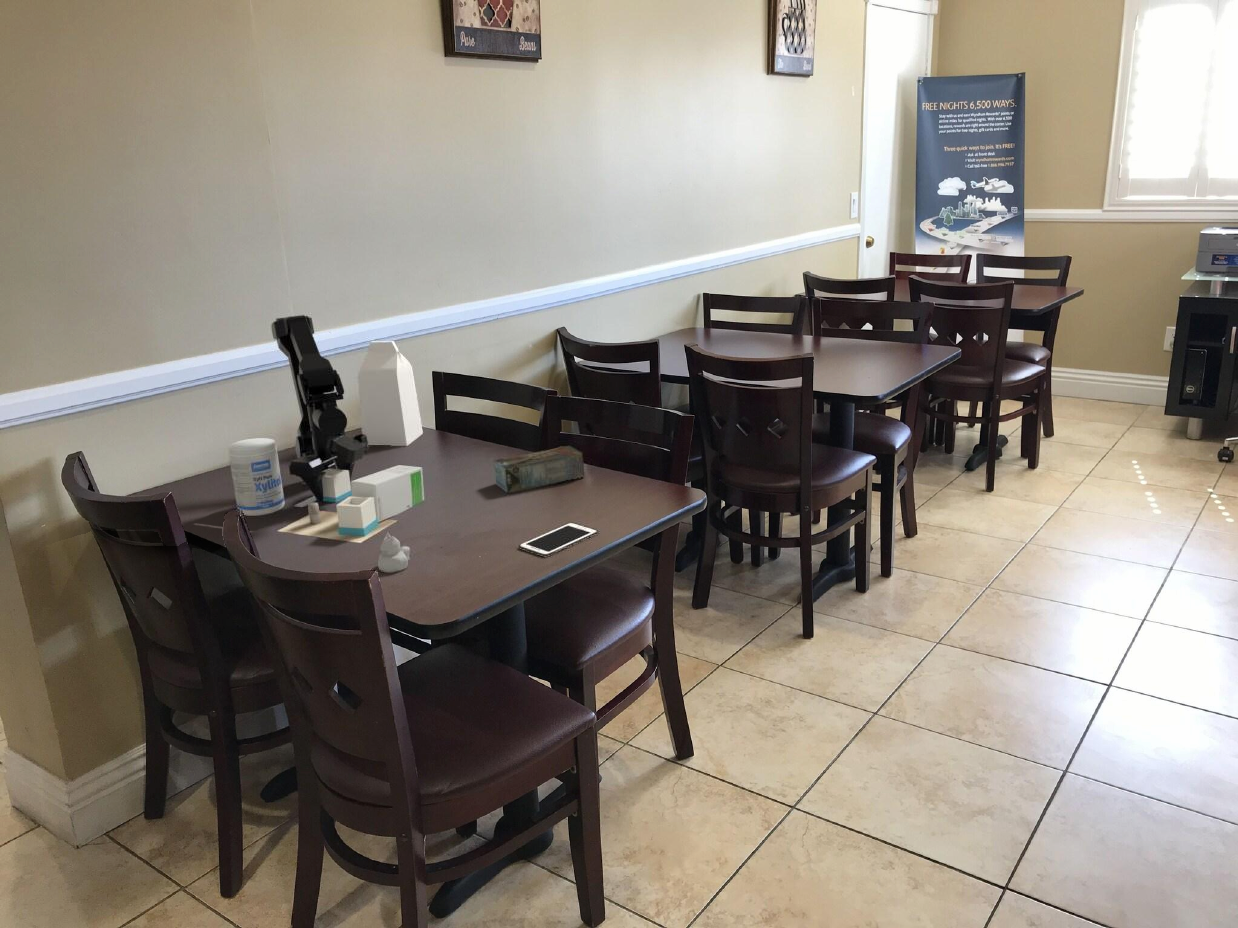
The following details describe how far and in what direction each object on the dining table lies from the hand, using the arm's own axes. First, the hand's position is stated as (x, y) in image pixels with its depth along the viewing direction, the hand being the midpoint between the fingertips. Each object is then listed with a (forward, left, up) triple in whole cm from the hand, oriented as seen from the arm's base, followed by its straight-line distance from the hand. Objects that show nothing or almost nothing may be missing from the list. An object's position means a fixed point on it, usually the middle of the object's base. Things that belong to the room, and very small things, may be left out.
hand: (334, 494), depth 206 cm
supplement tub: (-12, -9, -2) cm, 15 cm away
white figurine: (+35, -27, -2) cm, 44 cm away
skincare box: (+17, +5, +3) cm, 18 cm away
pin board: (+12, -14, -2) cm, 18 cm away
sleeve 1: (0, 0, -1) cm, 1 cm away
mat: (0, 0, -2) cm, 2 cm away
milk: (-16, +44, -2) cm, 47 cm away
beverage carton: (+37, +25, -2) cm, 45 cm away
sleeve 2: (+18, -15, 0) cm, 23 cm away
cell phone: (+57, -5, -2) cm, 57 cm away
